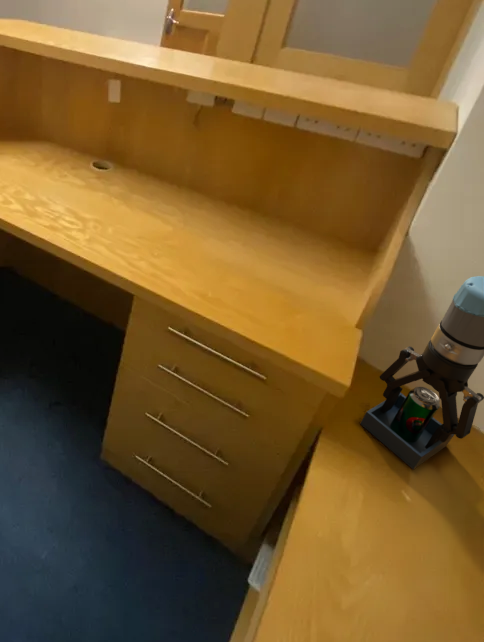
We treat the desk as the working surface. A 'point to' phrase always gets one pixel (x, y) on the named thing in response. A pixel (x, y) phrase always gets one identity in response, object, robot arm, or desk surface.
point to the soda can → (415, 414)
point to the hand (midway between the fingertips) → (407, 427)
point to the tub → (405, 450)
